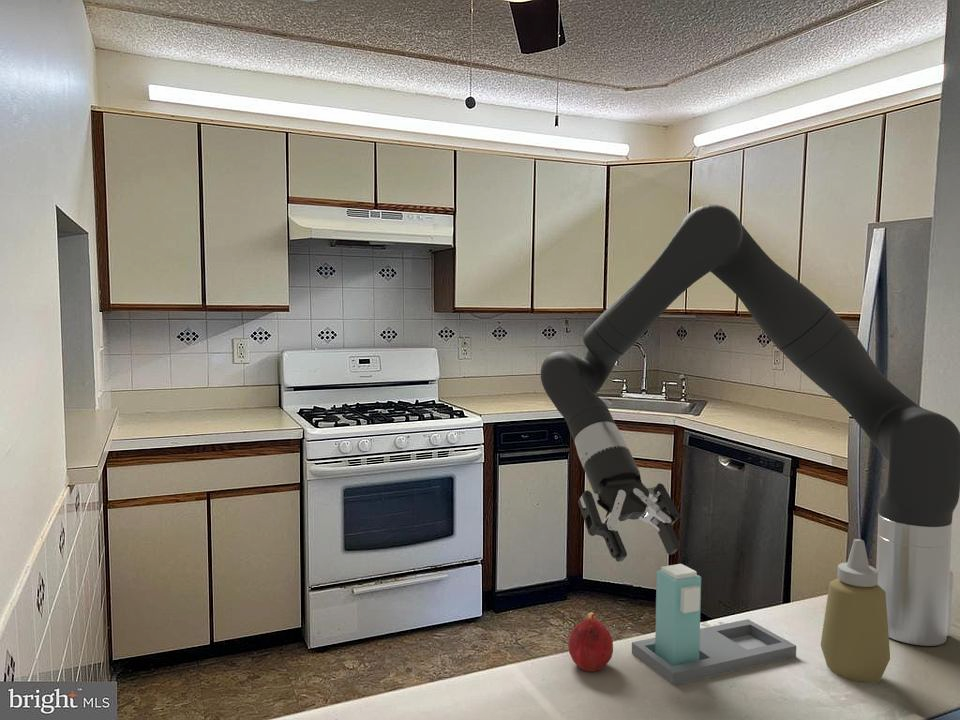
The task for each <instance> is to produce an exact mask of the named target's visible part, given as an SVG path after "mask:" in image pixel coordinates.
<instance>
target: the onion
mask: <svg viewBox="0 0 960 720" xmlns="http://www.w3.org/2000/svg"><path fill="white" fill-rule="evenodd" d="M569 634H570V635H569V639H568V652H569V655H570V658H571V659H572V661H573V663H574V664H575V665H576V666H577V667H578V668H580V669H581V670H583V671H584V672H585V671H586V672H592V673H593V672H598V671H600V670H601V669H603V668H604V667H605V666H606V665H607V664H608V663H609V662H610V660H611V659H612V657H613V653H614V644H613V643H614V641H613V638H612V635H611V632H610V631H609V630H608V628H607V627H606V626H605V625H604V624H603V623H602V622H601V621H599V620H598V619H597V614H595V613H594V612H592V611H591V612H589V613H587V616H586V617H585V619H584V620H582V621H580V622H578V623H577V624H576V625H575V626H574V627H573V628H572V630H571V632H570V633H569Z"/></svg>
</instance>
